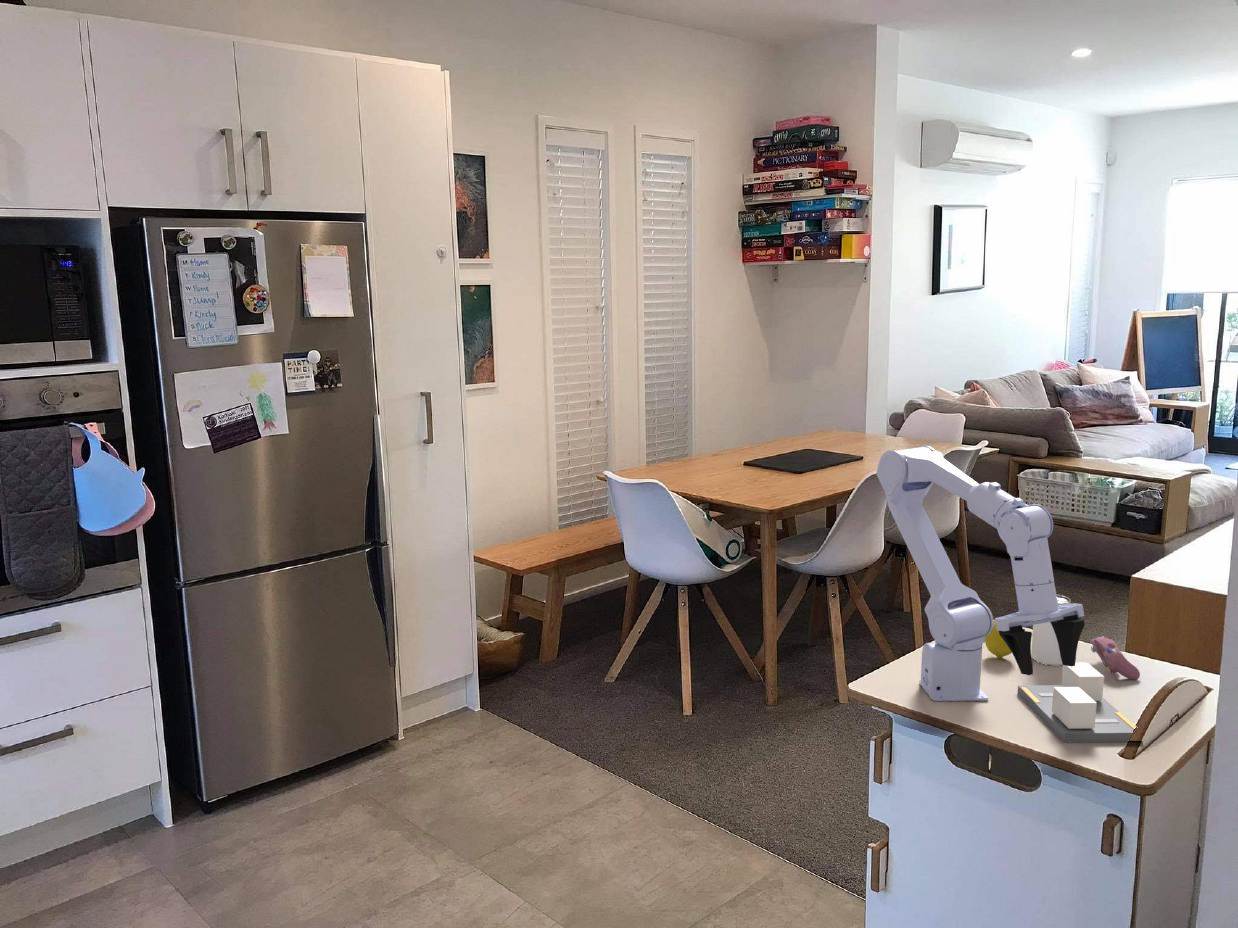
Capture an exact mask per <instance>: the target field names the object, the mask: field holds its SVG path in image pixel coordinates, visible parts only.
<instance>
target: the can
mask: <svg viewBox="0 0 1238 928" xmlns="http://www.w3.org/2000/svg"><path fill="white" fill-rule="evenodd" d="M1056 596H1057V603H1058V606H1060V605H1068V604H1071V598H1069V597H1067V596H1065V595H1061V594H1056ZM1039 620H1041V619H1039ZM1033 621H1036V620H1033ZM1031 658H1032V660H1033V661H1035V660H1036V661H1038V662H1039V663H1038V662H1037V663H1038V664H1041V663H1044V664H1047V665H1046V666H1050V665H1061V666H1063V663H1062V660H1061V656H1060V651H1059V645H1058V641H1057V638H1056V635H1055V632H1054V629H1053V627H1052V625H1051V623H1050V622H1046V623H1041V624H1036V625H1032V637H1031ZM1036 661H1035V662H1036ZM1044 664H1043V665H1044Z"/></svg>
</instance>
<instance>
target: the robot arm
mask: <svg viewBox="0 0 1238 928" xmlns="http://www.w3.org/2000/svg"><path fill="white" fill-rule="evenodd" d="M875 475H876V476H877V479H878V481H879V483H880V485H881V487H882V490H883V491H884V493H885V496H886V501H887V506H888V510H889V511H890V514H891V515H892V517H893V520H894V522H895V524H896V525H897V526H896V527H897V529H898V531H899V532H900V534H901V536H902V538H903V540H904V543H905V545H906V546H907V547H906V548H908V551H909V553H910V555H911V557H912V560H913V562H914V563H915V565H916V568H917V569H918V570H917V571H918V572H919V573H920V576H921V578H922V580H923V582H924V584H925V586H926V589H927V591H928V593H929V595H930V598H929V600H927V604H926V605H925V607H924V612H925V615H926V617H927V619H928V628H929V632H930V634H931V636H932V639H934V640H935V641H932V642H925V643H924V644H923V646H922V651H921V666H920V667H921V669H920V680H919V682H918V683H919V685H921V687H922V688H923V689H924V691H925V692H926V694H927V695H928V697H929V698H930V700H932V701H934V702H944V701H945V702H949V701H951V702H953V701H954V702H956V701H957V702H959V701H963V702H964V701H965V702H967V701H973V702H974V701H988V700H989V697H988V695H987V694H986V693H985V692H984V691H983V690H982V688H981V676H982V675H981V673H982V672H981V671H982V661H983V660H982V657H983V645H984V644H986V643H985V636H987V635H989V634H990V633H991V631H992V629H993V625H994V620H995V623H996V629H997V630H998V631H999V635H1000V636H1001V637H1002V639H1003V640H1004V641H1005V643H1006V644H1007V645H1008V647H1009V648H1010V650H1011V652H1012V653H1011V654H1012V655H1013V658H1014V659H1015V661H1016V664H1017V666H1018V670H1019V671H1020V674H1021V675H1026V676H1032V675H1034V666H1033V658H1032V657H1031V650H1032V635H1033V631H1032V632H1031V631H1028V630H1026V629H1025V627H1029V626H1033V625H1036V624H1041V623H1046V622H1050V623H1051V625H1052V627H1053V629H1054V632H1055V635H1056V638H1057V641H1058V645H1059V651H1060V656H1061V660H1062V663H1063V665H1066V666H1071V667H1072V666H1075V663H1076V661H1077V660H1076V659H1077V650H1078V644H1079V640H1080V638H1081V635H1082V632H1083V630H1084V628H1085V625H1086V623H1085V620H1084V619H1083V618H1082V617H1085V612H1084V607H1083V604H1082V603H1076V602H1075V603H1070V604H1068V605H1060V606H1058V603H1057V596H1056V595H1057V591H1056V586H1055V578H1054V572H1053V565H1052V559H1051V554H1050V548H1049V541H1048V538H1049V537H1050V536H1051V535H1052V534H1053V530H1054V520H1053V516H1052V515H1051V513H1050V511H1048V509H1046V508H1045V507H1044V506H1043V505H1041V504H1039V503H1032V504H1026V503H1024V500H1023V499H1022V498H1020V497H1015V496H1013V495H1011V494H1010V493H1008V492H1006V491H1005V490H1004V489H1002V488H1001V484H1000V483H998V482H997V481H995V482H991V481H990V482H989V481H985V482H981V483H978V482H977V481H975V480H974V479H973V478H972V477H970V476H969V475H967V474H965V472H963V471H962V470H960V469H959V468H958V467H957V466H955V465H953V464H952V463H951V462H949V461H948V460H947V459H945V457H944V454H943V453H942V452H941V451H938V450H935V448H934V447H932V446H929V445H922V446H919V447H914V448H903V449H897V450H894V449H890V450H886V451H885V452H884V453H882V454H881V456H880V458H879V461H878V465H877V469H876V474H875ZM933 484H936V486H939V487H941V488H943V489H944V490H947V491H948V492H950V493H952V494H953V495H956V496H957V497H958V498H961V499H963V500H964V501H966V505H967V509H968V511H969V512H970V513H972V514H974V515H975V516H976V517H978V518H979V519H981V520H983V521H984V522H986V523H987V524H988V525H990V526H992V527H993V528H995V529H997V533H998V535H999V537H1000V540H1002V542H1003V543H1004V544H1005V546H1006V547H1005V548H1006V552H1007V554H1009V555H1008V556H1010V562H1011V568H1012V574H1013V580H1014V587H1015V592H1016V599H1017V607H1018V611H1017V612H1013V613H1010V614H1007V615H1004V616H1000V617H994V616H993V614H992V611H991V610H990V608H989V607H988V605H986V604H985V603H984V601H982V600H981V598H980V597H979V594H978V593H977V591H975V590H974V589H972V588H970V587H968V586H966V585H964V584H963V583H962V582H961V580H960V578H959V577H958V574H957V572H956V570H955V568H954V566H953V565H952V562H951V560H950V557H949V556H948V555H947V554H948V553H947V551H946V550H945V548H944V546H943V544H942V542H941V541H940V538H939V536H938V534H937V532H936V530H935V528H934V526H933V523H932V522H931V520H930V518H929V516H928V514H927V512H926V510H925V507H924V505H923V501H924V498H925V497H926V496H927V494H928V493H929V491H930V489H931V488H932V486H933ZM1039 619H1041V620H1039ZM1034 620H1036V621H1034ZM1063 665H1062V666H1063Z"/></svg>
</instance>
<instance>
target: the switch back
mask: <svg viewBox="0 0 1238 928" xmlns="http://www.w3.org/2000/svg"><path fill="white" fill-rule="evenodd" d="M1104 682H1105V675H1103V674H1102V673H1101V672H1099V671H1098V670H1097V669H1096V668H1094V667H1093V666H1092V665H1091V664H1090V663H1088V662H1075V666H1072V667H1071V666H1066V665H1062V676H1061V685H1062V687H1079V688H1081V689H1082V690H1083V691H1084V692H1085V693H1086V694H1087V695H1088V696H1090V697H1091V698H1092V699H1093V700H1094V701H1102V697H1103V696H1104V695H1103V694H1104V685H1105V684H1104Z"/></svg>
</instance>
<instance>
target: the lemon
mask: <svg viewBox="0 0 1238 928" xmlns="http://www.w3.org/2000/svg"><path fill="white" fill-rule="evenodd" d="M993 621H994V625H993V629H992V631H991V633H990V634H989V635H987V636H985V643H984V644H985V647H986V648H987V650H988V652H990V653H991V654H992V655H993V656H995V657H996V658H997V659H1003V658H1004V657H1006V656H1009V655H1010V654H1012V652H1011V650H1010V648H1009V647H1008V645H1007V644H1006V643H1005V641H1004V640H1003V639H1002V637H1001V636H1000V635H999V631H998V630H997V629H996V623H995V619H993Z"/></svg>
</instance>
